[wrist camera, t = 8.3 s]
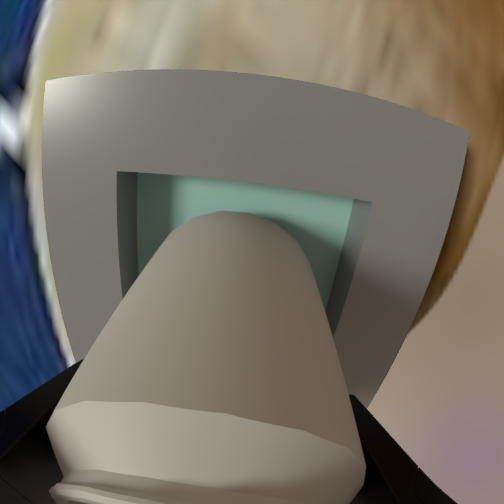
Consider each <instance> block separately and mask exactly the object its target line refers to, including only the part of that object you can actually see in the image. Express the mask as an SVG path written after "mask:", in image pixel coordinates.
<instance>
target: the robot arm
mask: <svg viewBox="0 0 504 504" xmlns="http://www.w3.org/2000/svg"><path fill="white" fill-rule="evenodd" d="M83 360H84V359H82V360H80V361H78V362H77V363H75V364H74V365H72V366H71V367H69V368H67V369H66V370H64V371H63V372H61V373H60V374H58V375H57V376H55V377H54V378H52V379H51V380H49V381H47V382H46V383H44V384H43V385H41V386H40V387H38V388H37V389H35V390H34V391H32V392H31V393H29V394H27V395H26V396H24V397H23V398H21V399H20V400H18V401H17V402H15V403H14V404H12V405H11V406H9V407H8V408H6V409H5V411H4V410H3V411H1V412H0V504H56V502H55V501H54V499H53V498H52V496H51V494H50V493H49V490H50V488H51V487H53V486H54V485H56V484H57V483H61V481H62V479H63V477H64V476H63V474H62V471H61V469H60V466H59V464H58V461H57V458H56V456H55V453H54V450H53V448H52V445H51V442H50V439H49V436H48V432H47V429H46V426H47V424H48V422H49V420H50V418H51V416H52V414H53V412H54V410H55V408H56V406H57V404H58V403H59V401H60V399H61V397H62V396H63V394H64V392H65V390H66V389H67V387H68V385H69V383H70V382H71V380H72V378H73V377H74V375H75V373H76V372H77V370H78V368H79V367H80V365H81V363H82V362H83ZM349 398H350V402H351V406H352V410H353V414H354V418H355V422H356V426H357V430H358V434H359V438H360V442H361V447H362V451H363V455H364V460H365V464H366V471H365V479H364V485H363V486H362V488H361V489H360V491H359V492H358V493H357V495H356V496H355V497H354V499H353V500H352V501H351V503H350V504H457V503H456V502H455V501H454V500H452V499H451V498H450V497H449V496H448V495H447V494H445V493H444V492H443V491H442V490H441V489H440V488H439V487H437V486H436V485H435V484H434V483H433V482H432V481H431V479H429V477H428V476H427V475H426V474H425V473H424V472H423V471H422V470H421V469H420V468H418V466H417V465H416V463H415V462H414V461H413V460H412V459H411V458H410V457H409V456H408V455H407V454H406V453H405V451H404V450H403V449H402V448H401V447H400V446H399V445H398V443H397V442H396V441H395V440H394V439H393V438H392V437H391V436H390V435H389V433H388V432H387V431H386V430H385V429H384V428H383V427H382V426H381V424H380V423H379V422H378V421H377V420H376V419H375V418H374V417H373V415H372V414H371V413H370V412H369V411H368V410H367V409H366V407H365V406H364V405H363V404H362V403H361V402H360V401H359V400H358V398H357V397H356V396H355V395H353V394H349Z"/></svg>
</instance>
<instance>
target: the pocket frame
mask: <svg viewBox="0 0 504 504" xmlns="http://www.w3.org/2000/svg"><path fill="white" fill-rule="evenodd" d="M469 133H470V132H469V131H467V130H465V129H463V128H460V127H458V126H456V125H453V124H451V123H448V122H446V121H443V120H441V119H438V118H435V117H433V116H430V115H427V114H425V113H422V112H419V111H416V110H413V109H410V108H407V107H404V106H401V105H398V104H395V103H392V102H388V101H385V100H382V99H378V98H374V97H371V96H367V95H363V94H360V93H356V92H352V91H347V90H343V89H339V88H334V87H330V86H325V85H320V84H315V83H310V82H304V81H299V80H293V79H286V78H280V77H273V76H265V75H257V74H248V73H237V72H225V71H208V70H134V71H118V72H106V73H96V74H87V75H79V76H72V77H65V78H59V79H53V80H48V81H46V85H45V94H44V107H43V124H42V179H43V197H44V210H45V220H46V229H47V237H48V244H49V251H50V258H51V264H52V269H53V275H54V280H55V285H56V290H57V295H58V299H59V304H60V308H61V312H62V316H63V320H64V324H65V328H66V331H67V335H68V338H69V342H70V345H71V349H72V352H73V355H74V358H75V361H76V363H77V362H78V361H80V360H82V359H84V358H85V357H86V355H87V353H88V352H89V350H90V349H91V347H92V345H93V344H94V342H95V341H96V339H97V337H98V336H99V334H100V333H101V331H102V330H103V328H104V327H105V325H106V324H107V322H108V320H109V319H110V317H111V316H112V314H113V313H114V311H115V310H116V308H117V307H118V305H119V304H120V302H121V301H122V300H123V298H124V297H125V295H126V294H127V292H128V291H129V289H130V288H131V286H132V285H133V284H134V282H135V281H136V279H137V278H138V276H139V275H140V274H141V272H142V271H143V269H144V268H145V267H146V265H147V264H148V262H149V261H150V260H151V258H152V257H153V256H154V254H155V253H156V251H157V250H158V249H159V247H160V246H161V245H162V243H163V242H164V241H165V239H166V238H167V237H168V235H169V234H170V233H171V232H172V231H173V230H175V229H176V228H178V227H179V226H181V225H182V224H184V223H185V222H187V221H188V220H190V219H191V218H193V217H197V216H201V215H204V214H208V213H212V212H216V211H233V212H248V213H251V214H254V215H256V216H259V217H261V218H264V219H267V220H269V221H272V222H274V223H276V224H277V225H279V226H280V227H281V228H282V229H283V230H285V231H286V232H287V233H288V234H289V235H291V236H292V237H293V238H294V239H295V240H297V242H298V244H299V245H300V247H301V249H302V250H303V252H304V254H305V255H306V257H307V259H308V260H309V262H310V265H311V268H312V271H313V274H314V277H315V281H316V284H317V287H318V290H319V293H320V296H321V300H322V303H323V306H324V309H325V313H326V316H327V319H328V323H329V326H330V330H331V333H332V336H333V340H334V343H335V347H336V350H337V354H338V357H339V361H340V364H341V368H342V372H343V375H344V379H345V383H346V387H347V390H348V394H353V395H355V396H356V397H357V398H358V400H359V401H360V402H361V403H362V404H363V405H364V406H365V407H366V409H367V407H368V406H369V404H370V403H371V401H372V399H373V398H374V396H375V394H376V392H377V391H378V389H379V387H380V385H381V384H382V382H383V380H384V378H385V377H386V375H387V373H388V371H389V369H390V367H391V365H392V364H393V362H394V360H395V358H396V356H397V354H398V352H399V350H400V348H401V346H402V344H403V342H404V340H405V338H406V336H407V333H408V331H409V329H410V327H411V325H412V323H413V320H414V318H415V316H416V314H417V311H418V309H419V307H420V304H421V302H422V299H423V297H424V295H425V292H426V290H427V287H428V284H429V282H430V279H431V277H432V274H433V271H434V269H435V266H436V263H437V260H438V257H439V254H440V251H441V248H442V245H443V242H444V239H445V236H446V233H447V229H448V226H449V223H450V219H451V216H452V212H453V209H454V205H455V201H456V197H457V193H458V189H459V185H460V180H461V176H462V171H463V167H464V162H465V156H466V151H467V145H468V139H469Z"/></svg>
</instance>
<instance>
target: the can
mask: <svg viewBox="0 0 504 504" xmlns="http://www.w3.org/2000/svg"><path fill="white" fill-rule="evenodd" d="M46 429H47V432H48V436H49V439H50V442H51V445H52V448H53V450H54V453H55V456H56V458H57V461H58V464H59V466H60V469H61V471H62V474H63V476H64V477H63V479H62V481H61V483H57V484H56V485H54V486H53V487H51V488H50V490H49V493H50V494H51V496H52V498H53V499H54V501H55V502H56V504H350V503H351V501H352V500H353V499H354V497H355V496H356V495H357V493H358V492H359V491H360V489H361V488H362V486H363V485H364V479H365V471H366V464H365V460H364V455H363V451H362V447H361V442H360V438H359V434H358V430H357V426H356V422H355V418H354V414H353V410H352V406H351V402H350V398H349V394H348V390H347V387H346V383H345V379H344V375H343V372H342V368H341V364H340V361H339V357H338V354H337V350H336V347H335V343H334V340H333V336H332V333H331V330H330V326H329V323H328V319H327V316H326V313H325V309H324V306H323V303H322V300H321V296H320V293H319V290H318V287H317V284H316V281H315V277H314V274H313V271H312V268H311V265H310V262H309V260H308V259H307V257H306V255H305V254H304V252H303V250H302V249H301V247H300V245H299V244H298V242H297V240H295V239H294V238H293V237H292V236H291V235H289V234H288V233H287V232H286V231H285V230H283V229H282V228H281V227H280V226H279V225H277V224H276V223H274V222H272V221H269V220H267V219H264V218H261V217H259V216H256V215H254V214H251V213H248V212H233V211H216V212H212V213H208V214H204V215H201V216H197V217H193V218H191V219H190V220H188V221H187V222H185V223H184V224H182V225H181V226H179V227H178V228H176V229H175V230H173V231H172V232H171V233H170V234H169V235H168V237H167V238H166V239H165V241H164V242H163V243H162V245H161V246H160V247H159V249H158V250H157V251H156V253H155V254H154V256H153V257H152V258H151V260H150V261H149V262H148V264H147V265H146V267H145V268H144V269H143V271H142V272H141V274H140V275H139V276H138V278H137V279H136V281H135V282H134V284H133V285H132V286H131V288H130V289H129V291H128V292H127V294H126V295H125V297H124V298H123V300H122V301H121V302H120V304H119V305H118V307H117V308H116V310H115V311H114V313H113V314H112V316H111V317H110V319H109V320H108V322H107V324H106V325H105V327H104V328H103V330H102V331H101V333H100V334H99V336H98V337H97V339H96V341H95V342H94V344H93V345H92V347H91V349H90V350H89V352H88V353H87V355H86V357H85V358H84V360H83V362H82V363H81V365H80V367H79V368H78V370H77V372H76V373H75V375H74V377H73V378H72V380H71V382H70V383H69V385H68V387H67V389H66V390H65V392H64V394H63V396H62V397H61V399H60V401H59V403H58V404H57V406H56V408H55V410H54V412H53V414H52V416H51V418H50V420H49V422H48V424H47V426H46Z"/></svg>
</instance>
